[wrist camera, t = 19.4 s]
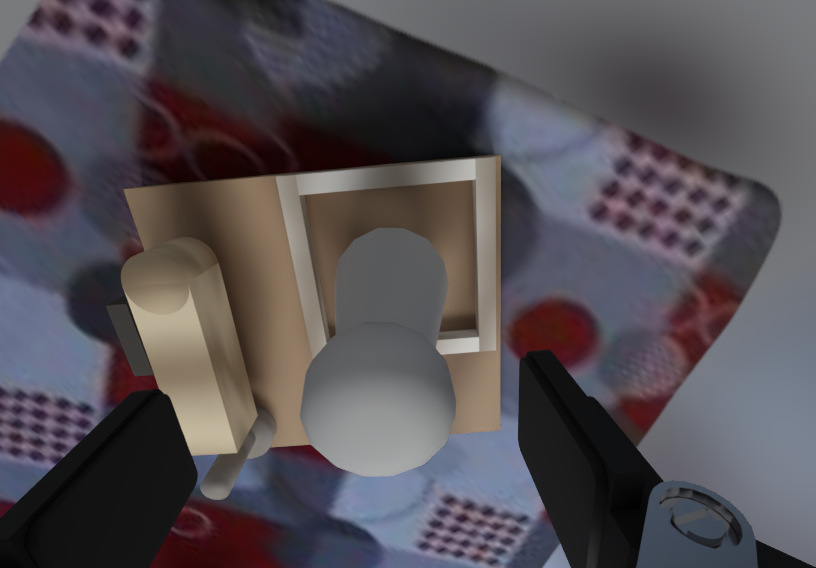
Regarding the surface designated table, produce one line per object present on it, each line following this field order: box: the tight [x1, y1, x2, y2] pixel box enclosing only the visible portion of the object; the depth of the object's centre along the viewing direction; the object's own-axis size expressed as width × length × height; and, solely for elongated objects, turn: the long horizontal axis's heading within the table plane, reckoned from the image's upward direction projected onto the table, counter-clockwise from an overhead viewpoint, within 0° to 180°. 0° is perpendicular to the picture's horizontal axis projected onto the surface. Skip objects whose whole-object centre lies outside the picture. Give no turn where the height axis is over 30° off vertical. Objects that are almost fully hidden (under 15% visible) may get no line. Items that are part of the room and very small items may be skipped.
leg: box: [121, 237, 258, 456], centre depth 20 cm, size 12×3×3 cm, turn 4°
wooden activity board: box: [106, 154, 501, 500], centre depth 21 cm, size 20×18×6 cm
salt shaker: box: [300, 228, 456, 476], centre depth 15 cm, size 6×6×13 cm
